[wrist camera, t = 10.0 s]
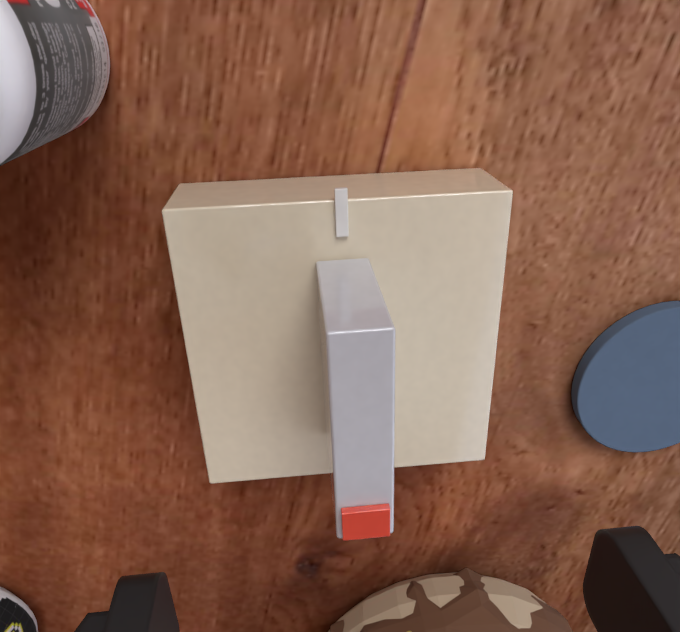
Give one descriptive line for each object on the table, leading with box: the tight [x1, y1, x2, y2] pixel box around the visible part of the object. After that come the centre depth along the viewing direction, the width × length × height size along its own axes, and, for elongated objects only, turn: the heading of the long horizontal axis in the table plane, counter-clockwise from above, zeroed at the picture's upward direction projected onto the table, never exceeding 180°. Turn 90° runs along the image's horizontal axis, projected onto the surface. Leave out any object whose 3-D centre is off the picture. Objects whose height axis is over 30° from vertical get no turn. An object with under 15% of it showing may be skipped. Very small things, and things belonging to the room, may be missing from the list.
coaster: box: [571, 301, 680, 452], centre depth 24 cm, size 7×7×1 cm
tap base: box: [162, 168, 513, 484], centre depth 20 cm, size 11×10×3 cm
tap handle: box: [316, 258, 396, 541], centre depth 16 cm, size 6×2×5 cm, turn 2°
